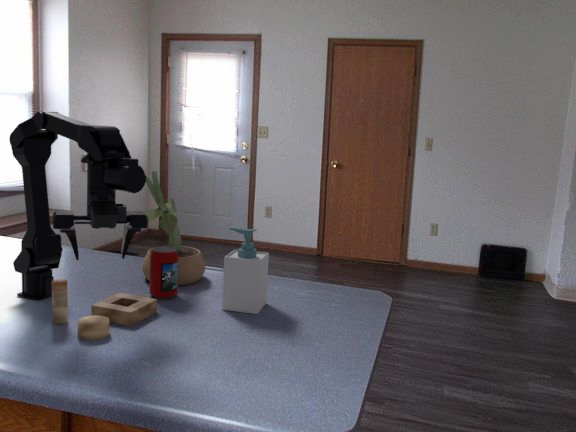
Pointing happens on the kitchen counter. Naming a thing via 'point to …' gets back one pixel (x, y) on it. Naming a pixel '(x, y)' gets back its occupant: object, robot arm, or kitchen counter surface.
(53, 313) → the wooden dowel
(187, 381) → the kitchen counter surface
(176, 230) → the potted plant
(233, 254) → the soap bottle
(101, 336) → the tan rounded disc
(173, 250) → the beverage can
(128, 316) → the square wooden frame
